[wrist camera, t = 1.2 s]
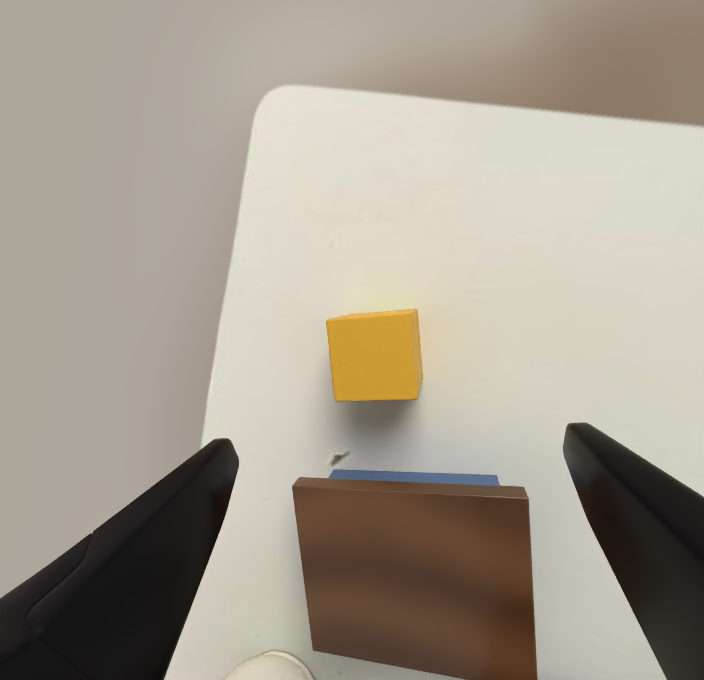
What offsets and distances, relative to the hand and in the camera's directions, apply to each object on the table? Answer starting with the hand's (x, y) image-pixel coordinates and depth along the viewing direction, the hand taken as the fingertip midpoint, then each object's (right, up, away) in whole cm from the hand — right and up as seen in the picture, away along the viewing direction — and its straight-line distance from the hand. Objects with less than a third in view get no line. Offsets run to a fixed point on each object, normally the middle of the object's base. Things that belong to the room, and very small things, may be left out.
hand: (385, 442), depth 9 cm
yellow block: (+1, +2, +16) cm, 16 cm away
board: (+3, -12, +13) cm, 18 cm away
